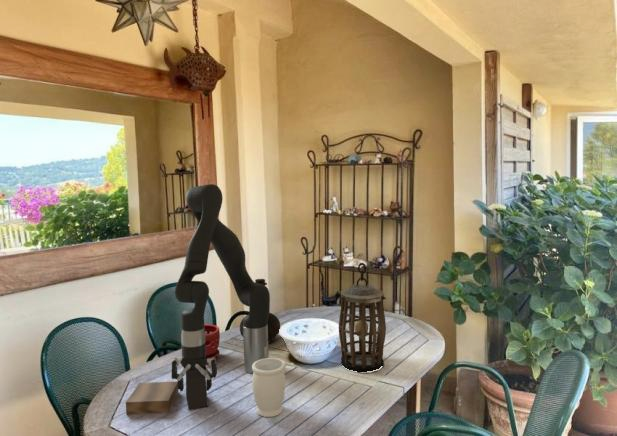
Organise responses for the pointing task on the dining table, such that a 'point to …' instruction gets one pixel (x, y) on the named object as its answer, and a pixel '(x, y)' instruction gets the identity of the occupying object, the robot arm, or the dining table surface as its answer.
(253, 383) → the jar
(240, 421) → the dining table surface
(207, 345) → the plant pot
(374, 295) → the lantern
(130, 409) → the walnut plinth
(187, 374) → the phone stand
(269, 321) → the black rounded vessel
